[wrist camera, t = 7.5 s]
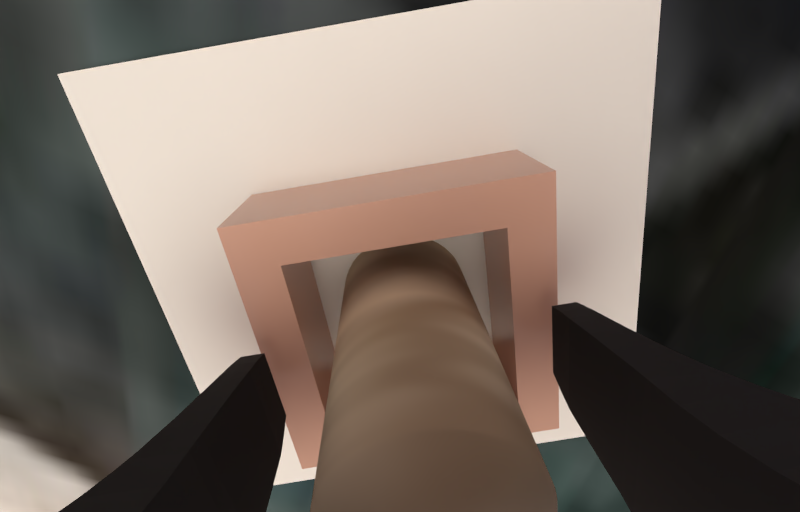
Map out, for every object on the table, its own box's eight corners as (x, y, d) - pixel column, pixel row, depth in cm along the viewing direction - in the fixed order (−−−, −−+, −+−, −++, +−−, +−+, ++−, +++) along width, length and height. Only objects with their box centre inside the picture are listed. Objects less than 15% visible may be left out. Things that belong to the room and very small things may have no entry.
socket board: (641, -26, 12) (761, -71, 8) (615, 411, 18) (676, 496, 14) (81, 74, 12) (-48, 74, 8) (249, 469, 18) (218, 567, 15)
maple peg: (481, 253, 14) (602, 457, 6) (440, 351, 15) (499, 609, 8) (363, 219, 13) (345, 403, 6) (332, 325, 15) (285, 580, 7)
